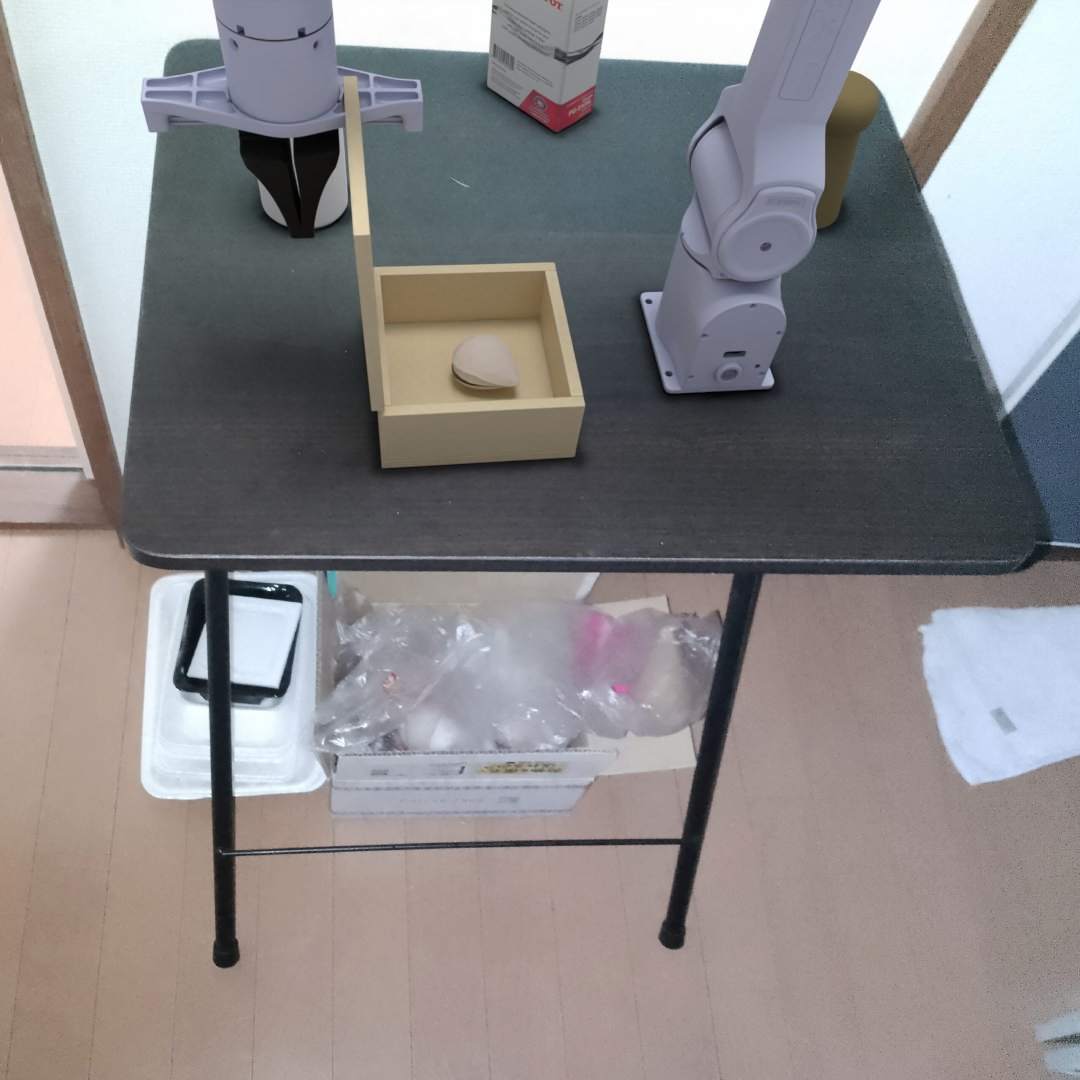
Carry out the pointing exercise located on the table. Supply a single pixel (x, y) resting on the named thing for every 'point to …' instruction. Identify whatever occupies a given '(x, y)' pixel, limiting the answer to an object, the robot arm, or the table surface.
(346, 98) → the box lid
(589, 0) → the ink box
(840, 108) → the cork
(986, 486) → the table surface
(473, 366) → the clam shell
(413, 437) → the beige box
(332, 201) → the can
